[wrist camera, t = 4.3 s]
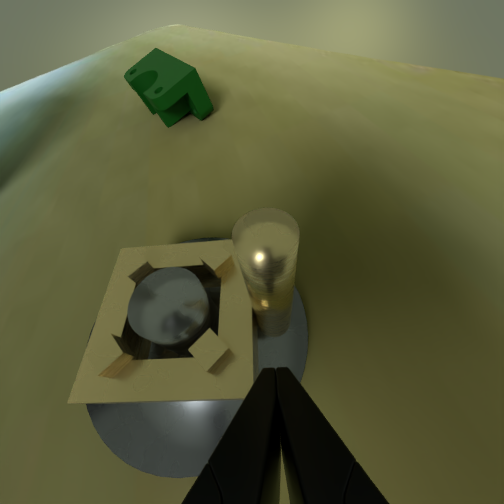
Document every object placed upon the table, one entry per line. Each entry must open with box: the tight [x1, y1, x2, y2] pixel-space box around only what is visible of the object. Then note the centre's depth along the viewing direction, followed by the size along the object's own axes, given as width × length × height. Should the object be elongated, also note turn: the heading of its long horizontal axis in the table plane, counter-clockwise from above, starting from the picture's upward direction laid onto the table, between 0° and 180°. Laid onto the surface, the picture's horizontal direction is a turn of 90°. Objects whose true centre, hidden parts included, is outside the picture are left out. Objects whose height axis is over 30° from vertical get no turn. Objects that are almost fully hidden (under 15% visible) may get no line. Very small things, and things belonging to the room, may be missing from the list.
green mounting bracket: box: [124, 48, 214, 128], centre depth 31 cm, size 12×6×9 cm, turn 31°
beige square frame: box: [68, 208, 300, 404], centre depth 11 cm, size 8×10×8 cm
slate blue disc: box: [86, 238, 308, 478], centre depth 13 cm, size 14×14×6 cm
